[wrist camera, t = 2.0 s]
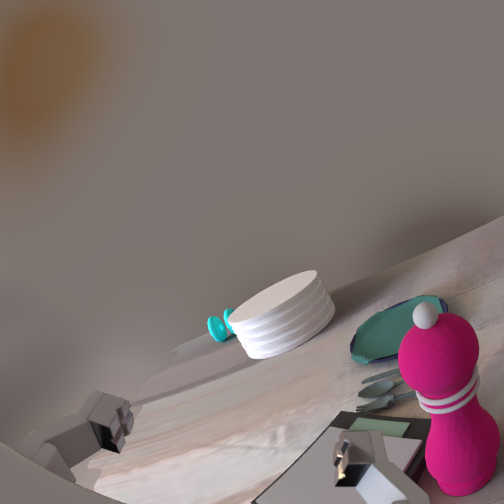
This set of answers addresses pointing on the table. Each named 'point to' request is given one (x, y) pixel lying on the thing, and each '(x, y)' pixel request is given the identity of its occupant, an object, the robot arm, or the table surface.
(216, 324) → the donuts
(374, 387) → the cutlery set
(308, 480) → the kitchen scale
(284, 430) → the table surface
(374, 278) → the table surface
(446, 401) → the pepper mill
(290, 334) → the plate stack
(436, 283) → the table surface
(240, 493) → the table surface
